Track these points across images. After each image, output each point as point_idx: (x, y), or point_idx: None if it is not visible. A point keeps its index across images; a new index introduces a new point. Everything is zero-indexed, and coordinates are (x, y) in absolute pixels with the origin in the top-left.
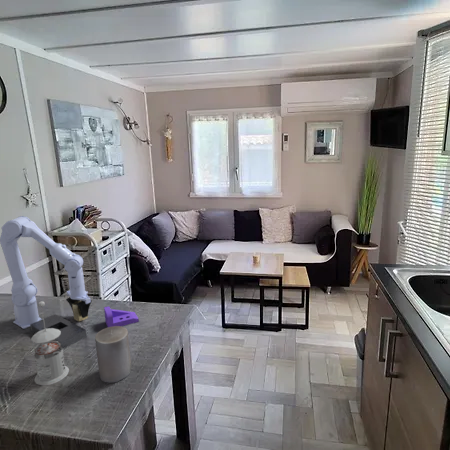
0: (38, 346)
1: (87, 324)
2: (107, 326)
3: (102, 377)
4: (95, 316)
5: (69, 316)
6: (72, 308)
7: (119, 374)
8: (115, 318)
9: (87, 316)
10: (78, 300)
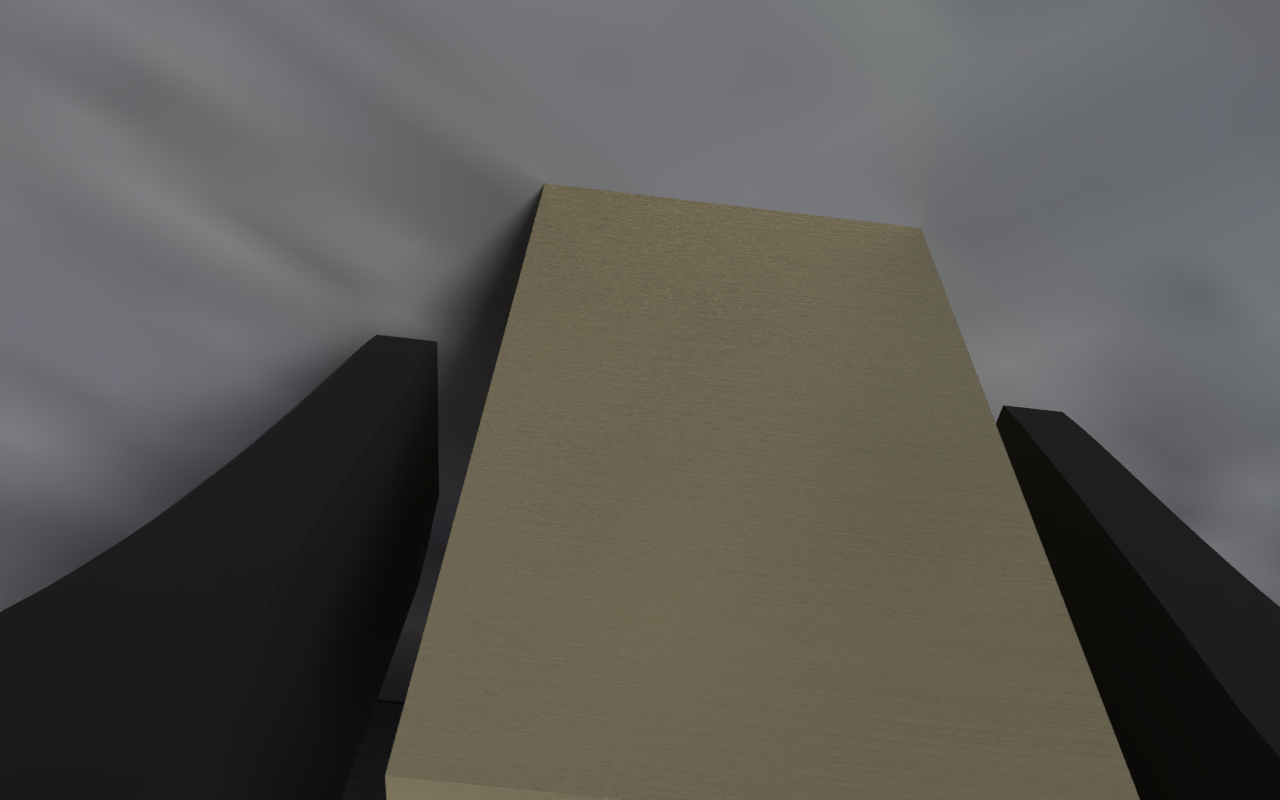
0: None
1: (1221, 512)
2: None
3: None
4: (1158, 13)
5: (222, 427)
6: (354, 736)
7: None
8: None
9: (930, 285)
10: (213, 789)
